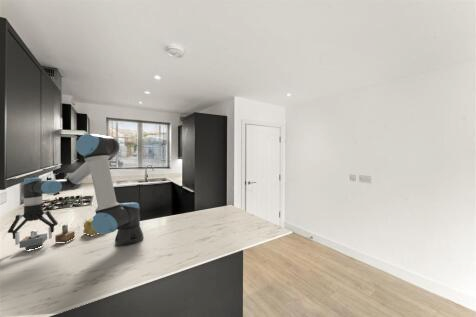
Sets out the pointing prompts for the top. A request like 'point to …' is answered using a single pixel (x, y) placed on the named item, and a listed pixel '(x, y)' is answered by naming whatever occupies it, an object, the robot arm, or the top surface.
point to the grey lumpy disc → (33, 240)
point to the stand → (64, 235)
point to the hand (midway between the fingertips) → (34, 241)
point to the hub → (33, 235)
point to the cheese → (89, 227)
